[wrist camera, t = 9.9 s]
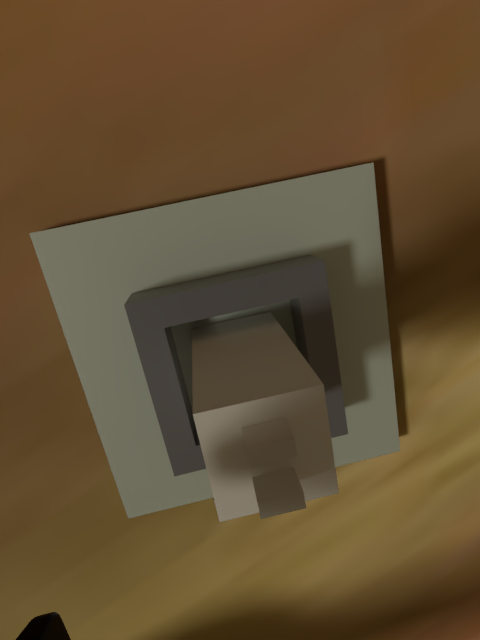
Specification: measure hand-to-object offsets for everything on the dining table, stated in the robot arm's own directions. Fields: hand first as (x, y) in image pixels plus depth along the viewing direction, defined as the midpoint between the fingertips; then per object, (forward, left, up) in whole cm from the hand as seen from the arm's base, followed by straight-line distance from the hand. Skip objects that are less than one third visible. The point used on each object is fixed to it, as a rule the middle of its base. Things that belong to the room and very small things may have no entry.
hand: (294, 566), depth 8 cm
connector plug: (0, 0, -11) cm, 11 cm away
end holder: (0, 0, -12) cm, 12 cm away
